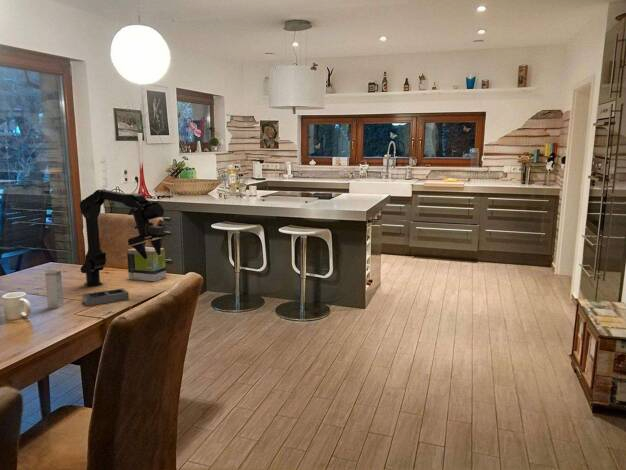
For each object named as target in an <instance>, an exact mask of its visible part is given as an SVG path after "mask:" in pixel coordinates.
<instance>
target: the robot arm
mask: <svg viewBox="0 0 626 470" xmlns="http://www.w3.org/2000/svg"><path fill="white" fill-rule="evenodd" d="M106 200H107V201H109V202H110V201H112V202H117V203H120V204H123V205H125V206H126V207H128V208H130V210H129V212H128V216H131V215H133V218H134V222H135V226H134V229H135V230H136V229H137V232H138V235H137V236H132V237H131V238H128V240H127V244H128V246H131V248H132V249H133V248H134V249H136V250H137V251H138V252H139V253H140V255H141V256H142V257H143V258H144V259H147V254H146V250H145V247H146V244H147V242H146V241H148V240H150V243H151V245H152V247H153V248H154V249H155V251H156V252H157V254H158V255H160V254H161V248H162V242H163V240H164V239H165V237H167V234H166V232H165V231H167V229H166V226H165V224H164V223H163V222H162V223H158V225H154V223H153V222H150V220H151V221H152V220H154V219H158V218H162V217H163V216H164V214H165V210H164V208H163V207H162V205H161V204H159V201H158V200H157V201H153V202H150V201H149V200H148V199H147V198H146V197H145V195H144V194H142V193H123V192H119V191H113V190H107V189H105V188H102V189H97V190H95V191H94V192H93V193H91V194H90V195H88V196H86V197H85V198H84V199H81V201H79V208H80V213H81V215H82V216H83V218H84V219H85V229H86V239H87V252H86V254H85V257H84V258H85V259H84V263H83V265H82V266H81V267H80V269H79V270H80V273H82V274H85V279H86V281H85V282H84V285H85V286H87V287H95V286H101V285H103V282H101V277H100V271H103V270H104V267H105V265H106V262H107V258H106V255H107V254H106V252H105V251H104V252H103V251H102V249H101V244H100V243H101V242H100V231H99V219H98V218H99V216H100V214H101V208H102V205H103V204H104V203H105V201H106Z"/></svg>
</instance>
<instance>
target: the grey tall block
mask: <svg viewBox="0 0 626 470" xmlns="http://www.w3.org/2000/svg"><path fill="white" fill-rule="evenodd" d="M44 278H45V289H46V290H45V291H46V299H47V300H46V301H47V309H60V308H61V307H64V296H63V285H62V284H63V283H62V272H61V270H49V271H47V272H45V273H44Z"/></svg>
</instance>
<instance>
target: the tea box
mask: <svg viewBox="0 0 626 470" xmlns="http://www.w3.org/2000/svg"><path fill="white" fill-rule="evenodd" d="M145 250H146V254H147V259H144V258H143V257H142V256H141V255H140V253H139V252H138V251H137V250H136V249H134V248H133V247H132V248H130V249H129V248H128V249H126V256H127V271H128V273H127V274H128V279H129V280H136V281H148V282H157V281H159V280H162V279H165V278H166V277H167V271H166V270H167V268H166V267H167V266H166V265H167V263H166V251H165V250H166V249H165V248H164V247H161V254H160V255H158V254H157V252H156V251H155V249H154V247H153V246H152V247H148V246H145Z"/></svg>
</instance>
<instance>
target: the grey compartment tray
mask: <svg viewBox="0 0 626 470" xmlns="http://www.w3.org/2000/svg"><path fill="white" fill-rule="evenodd" d="M81 296H82V302H83V304H84V305H85V306H86V305H87V306H86V307H91V306H97V305H98V306H99V305H102V304H103V305H104V304H109V303H116V302H121V301H126V300H127V301H128V300H129V299H130V297H129V292H128V291H127V290H126V289H125V288H123V287H122V288H115V289H109V290H102V291H96V292H95V291H94V292H90V293H89V292H88V293H83V294H82V295H81Z"/></svg>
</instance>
